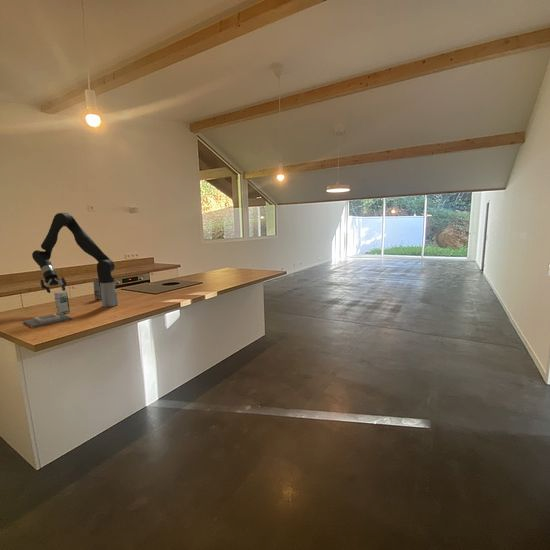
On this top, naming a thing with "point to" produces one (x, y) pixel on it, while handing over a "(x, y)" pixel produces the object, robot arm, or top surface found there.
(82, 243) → the robot arm
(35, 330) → the top surface
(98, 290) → the coffee box
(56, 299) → the syrup box
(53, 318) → the base board
